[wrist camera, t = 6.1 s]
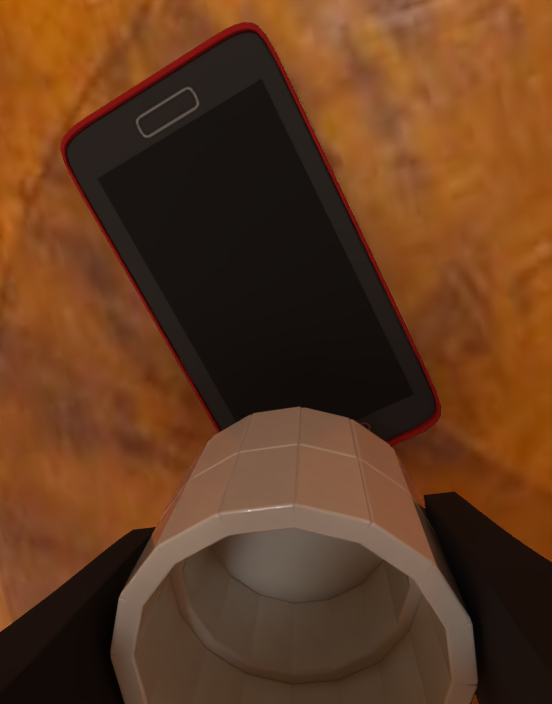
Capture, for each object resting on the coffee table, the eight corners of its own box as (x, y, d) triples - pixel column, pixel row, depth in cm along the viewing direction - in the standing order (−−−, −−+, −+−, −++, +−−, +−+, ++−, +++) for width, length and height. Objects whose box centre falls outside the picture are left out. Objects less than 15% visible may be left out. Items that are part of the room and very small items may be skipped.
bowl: (401, 383, 11) (459, 483, 7) (427, 595, 12) (491, 798, 8) (161, 418, 12) (70, 531, 7) (210, 616, 13) (157, 815, 8)
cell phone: (258, 20, 15) (255, 6, 15) (444, 412, 18) (452, 421, 17) (62, 144, 17) (47, 139, 16) (261, 492, 19) (259, 505, 18)
